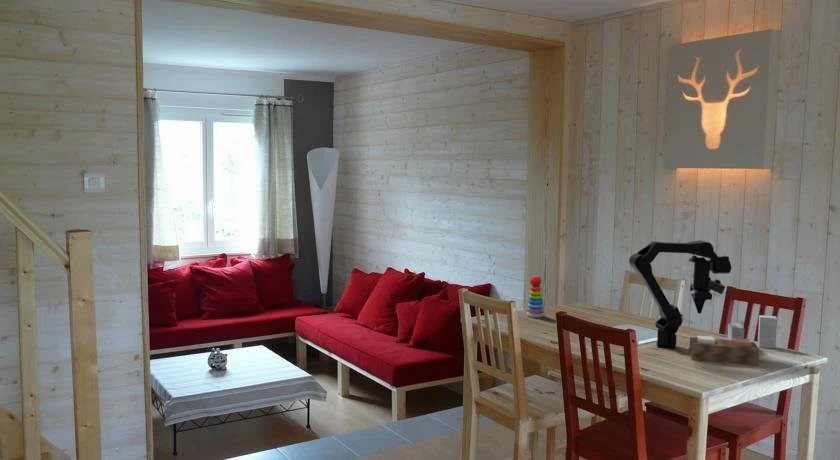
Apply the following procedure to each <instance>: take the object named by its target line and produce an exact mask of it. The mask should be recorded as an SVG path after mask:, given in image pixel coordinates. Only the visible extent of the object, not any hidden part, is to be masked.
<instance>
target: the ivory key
mask: <svg viewBox="0 0 840 460" xmlns="http://www.w3.org/2000/svg"><path fill="white" fill-rule="evenodd" d="M696 336H697V337H696V338H697V342H698V343H705V344H715V339H716V338H715V337H714V336H709V335H696Z"/></svg>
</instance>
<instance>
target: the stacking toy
mask: <svg viewBox="0 0 840 460" xmlns="http://www.w3.org/2000/svg"><path fill="white" fill-rule="evenodd" d="M529 281H530V284H531V286H530V291H529V296H528V298H529V299H528V305H527V306H528V307H527V312H526V315H527V317H530V318H543V317H544V316H545V309H544V300H543V295H542V294H543V292H542V286H541V284H542V278H541V276H539V275H533V276H531V277H530V280H529Z"/></svg>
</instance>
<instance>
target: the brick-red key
mask: <svg viewBox="0 0 840 460" xmlns="http://www.w3.org/2000/svg"><path fill="white" fill-rule="evenodd" d="M751 342H752V341H751V340H750V339H748V338H744V339H738V338H732V344H733V346H743V347H751Z"/></svg>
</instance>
